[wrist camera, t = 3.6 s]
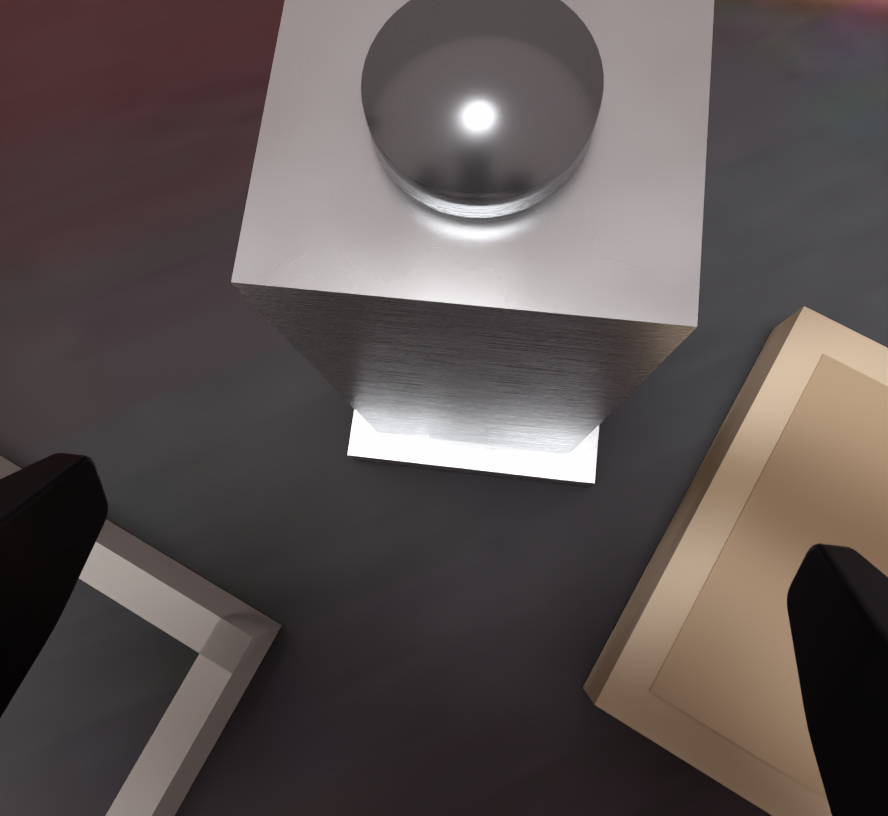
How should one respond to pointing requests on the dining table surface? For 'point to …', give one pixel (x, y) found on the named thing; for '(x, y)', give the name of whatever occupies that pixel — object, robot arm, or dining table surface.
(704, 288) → the dining table surface
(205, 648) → the casing tray rim
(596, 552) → the dining table surface
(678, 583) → the stand
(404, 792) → the dining table surface
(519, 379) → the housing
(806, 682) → the robot arm
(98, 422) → the dining table surface
